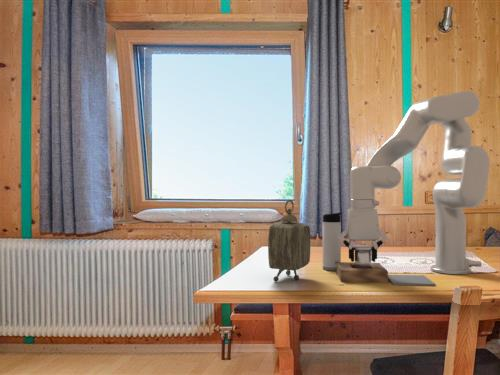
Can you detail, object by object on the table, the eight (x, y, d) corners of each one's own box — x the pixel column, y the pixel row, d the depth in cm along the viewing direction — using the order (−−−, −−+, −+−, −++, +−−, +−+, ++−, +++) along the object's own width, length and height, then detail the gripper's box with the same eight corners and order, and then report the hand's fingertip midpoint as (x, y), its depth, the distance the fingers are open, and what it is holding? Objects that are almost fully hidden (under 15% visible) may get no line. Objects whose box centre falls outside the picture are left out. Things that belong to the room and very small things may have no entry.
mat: (423, 277, 140) (423, 275, 140) (435, 285, 128) (435, 283, 128) (385, 276, 141) (385, 274, 141) (393, 285, 129) (393, 282, 129)
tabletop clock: (285, 273, 146) (285, 198, 146) (311, 276, 142) (311, 199, 142) (268, 282, 133) (268, 200, 133) (296, 285, 129) (296, 200, 129)
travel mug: (341, 271, 150) (341, 213, 150) (322, 270, 152) (322, 212, 151) (341, 267, 156) (341, 211, 156) (322, 267, 158) (322, 211, 158)
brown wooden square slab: (379, 273, 146) (379, 262, 146) (387, 282, 133) (387, 271, 133) (336, 272, 148) (336, 262, 148) (340, 281, 134) (340, 270, 134)
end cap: (370, 272, 143) (370, 245, 143) (374, 276, 137) (374, 247, 137) (352, 272, 144) (351, 244, 143) (354, 276, 138) (354, 247, 137)
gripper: (387, 204, 143) (387, 259, 143) (334, 204, 145) (334, 258, 145) (392, 205, 135) (393, 263, 136) (336, 205, 137) (336, 262, 137)
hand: (362, 260), depth 140 cm, fingers closed on end cap, 6 cm apart
